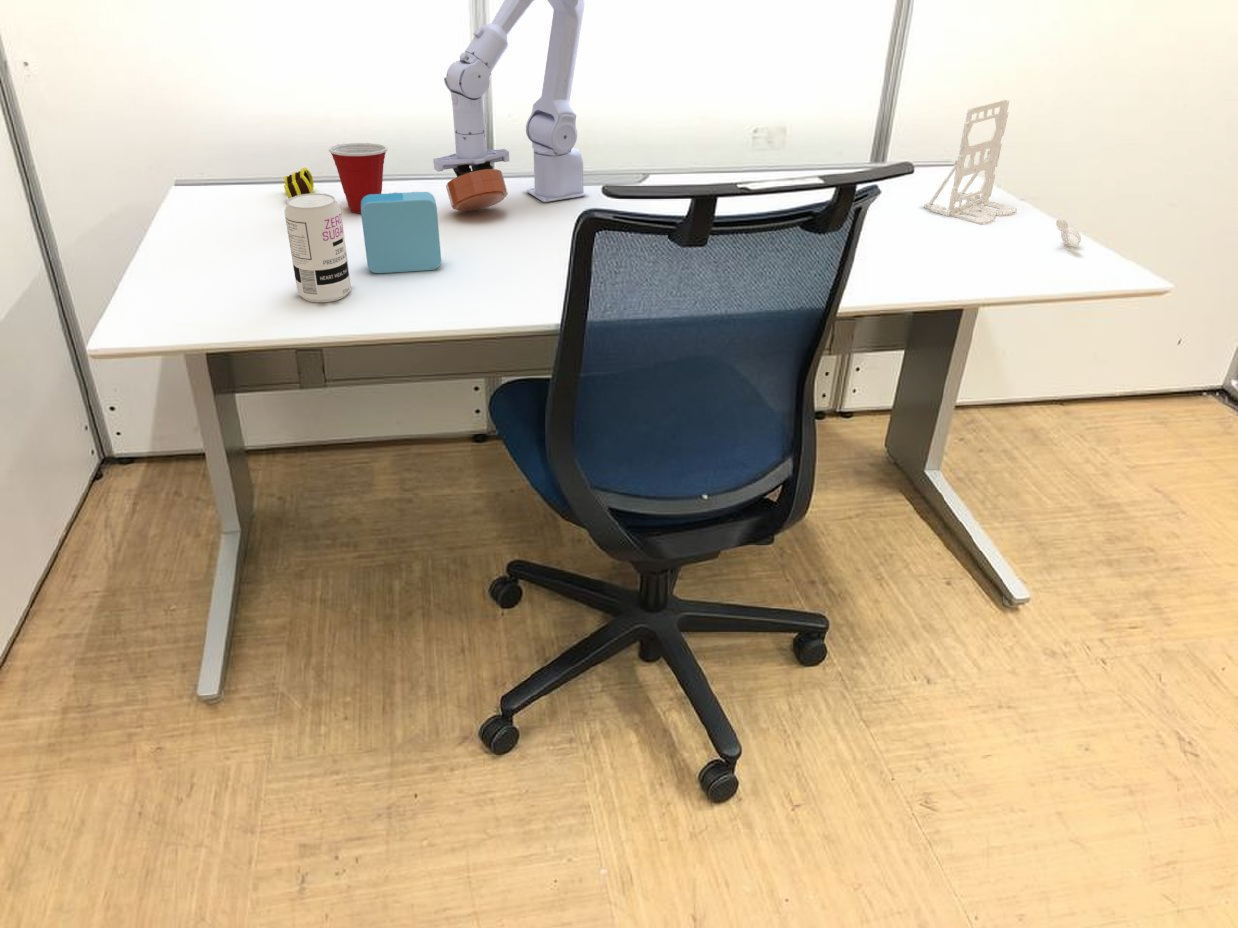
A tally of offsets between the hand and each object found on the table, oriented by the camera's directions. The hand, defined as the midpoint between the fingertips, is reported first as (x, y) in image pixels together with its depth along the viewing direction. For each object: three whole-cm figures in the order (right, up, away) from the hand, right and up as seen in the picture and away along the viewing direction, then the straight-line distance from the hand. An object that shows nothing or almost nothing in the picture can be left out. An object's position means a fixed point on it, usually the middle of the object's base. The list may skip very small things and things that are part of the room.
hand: (474, 203), depth 194 cm
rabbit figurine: (+108, -12, -12) cm, 109 cm away
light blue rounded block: (-8, -17, -24) cm, 31 cm away
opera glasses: (-36, +3, +7) cm, 36 cm away
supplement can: (-19, -23, -34) cm, 46 cm away
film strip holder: (+98, 0, +6) cm, 98 cm away
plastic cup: (-21, -1, +1) cm, 21 cm away
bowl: (+2, -1, -3) cm, 3 cm away
